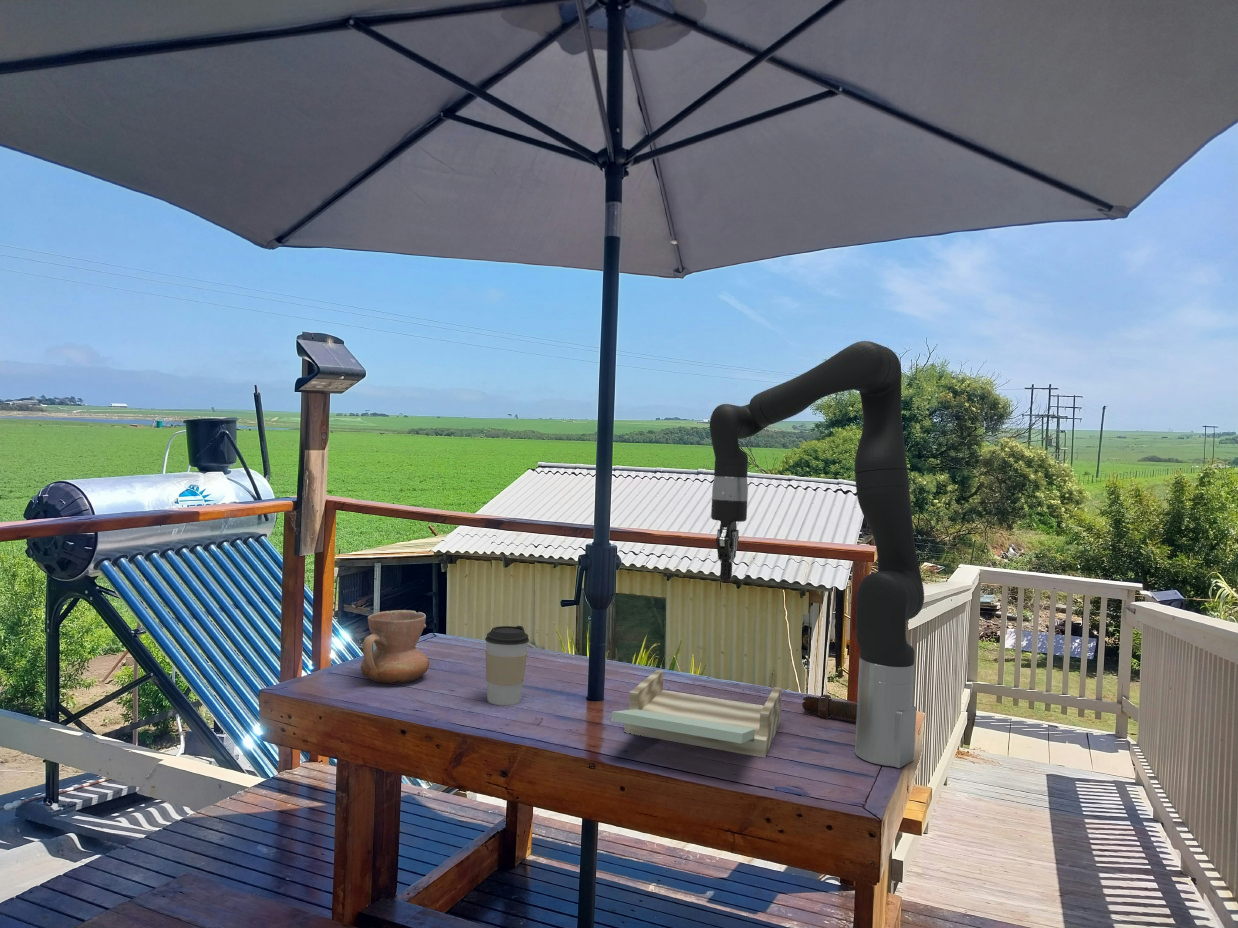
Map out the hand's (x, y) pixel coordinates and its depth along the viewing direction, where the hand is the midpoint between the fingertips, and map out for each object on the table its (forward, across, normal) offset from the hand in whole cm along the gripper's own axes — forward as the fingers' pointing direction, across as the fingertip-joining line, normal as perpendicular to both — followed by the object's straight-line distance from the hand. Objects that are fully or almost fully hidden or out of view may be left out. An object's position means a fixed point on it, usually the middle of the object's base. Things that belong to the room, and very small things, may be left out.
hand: (725, 579), depth 158 cm
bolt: (+27, +4, -24) cm, 37 cm away
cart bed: (+27, -15, 0) cm, 31 cm away
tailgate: (+24, -26, 0) cm, 35 cm away
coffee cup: (+27, -19, +41) cm, 53 cm away
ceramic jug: (+26, -18, +70) cm, 77 cm away
